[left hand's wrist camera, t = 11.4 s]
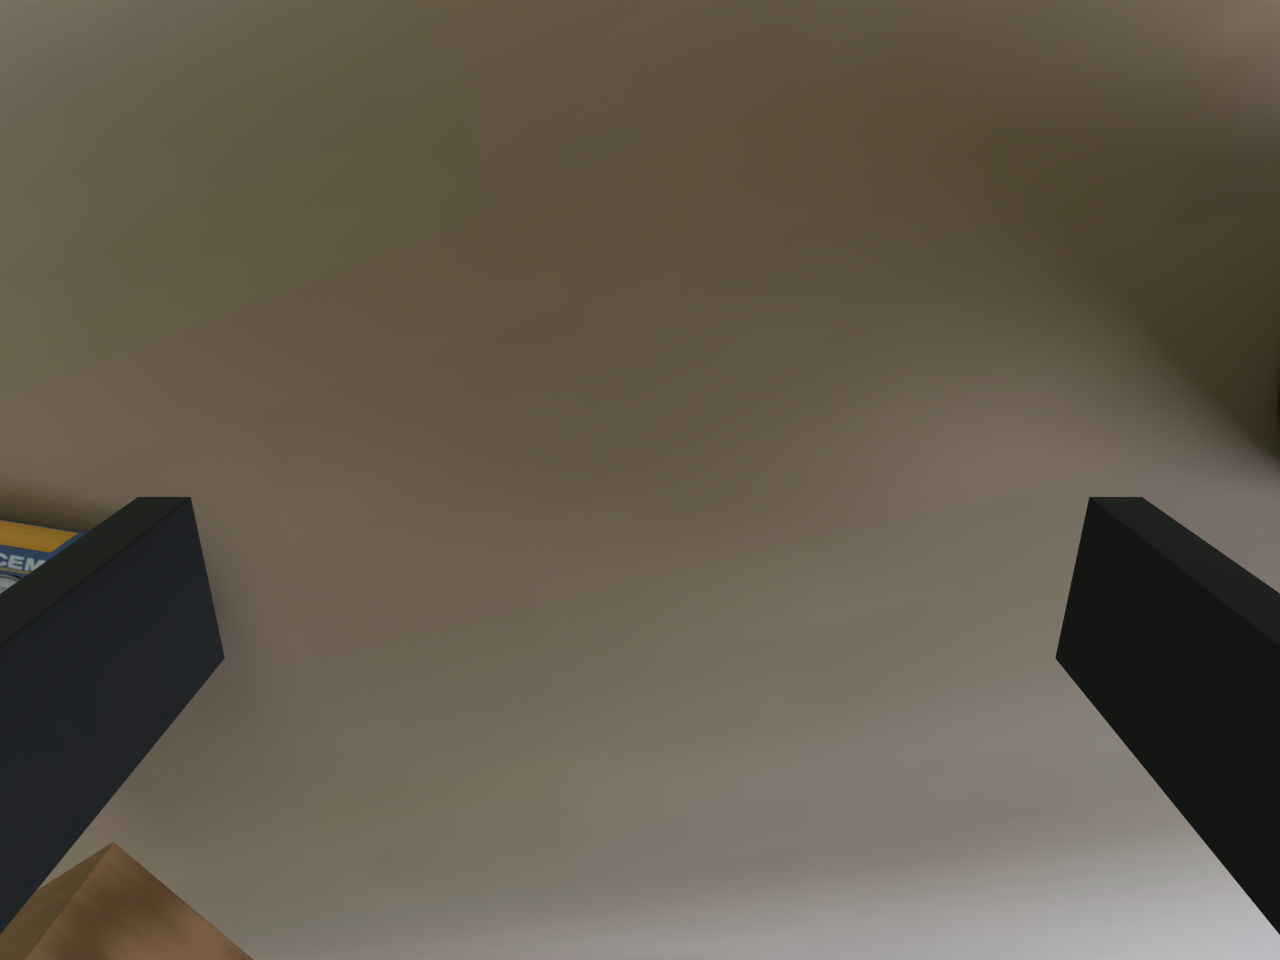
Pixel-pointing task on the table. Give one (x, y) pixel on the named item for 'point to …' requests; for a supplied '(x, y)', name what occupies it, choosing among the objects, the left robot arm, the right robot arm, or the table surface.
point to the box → (111, 918)
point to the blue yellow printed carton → (29, 548)
